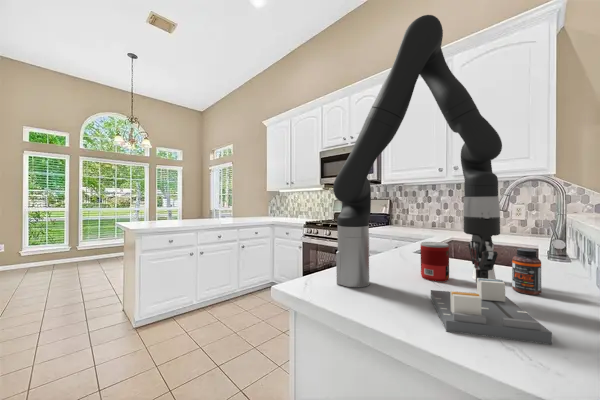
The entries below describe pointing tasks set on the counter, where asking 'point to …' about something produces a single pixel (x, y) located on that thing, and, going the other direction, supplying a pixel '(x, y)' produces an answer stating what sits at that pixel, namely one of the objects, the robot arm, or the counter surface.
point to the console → (491, 320)
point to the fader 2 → (491, 289)
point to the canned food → (435, 261)
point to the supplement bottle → (526, 272)
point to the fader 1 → (465, 302)
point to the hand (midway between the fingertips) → (482, 284)
